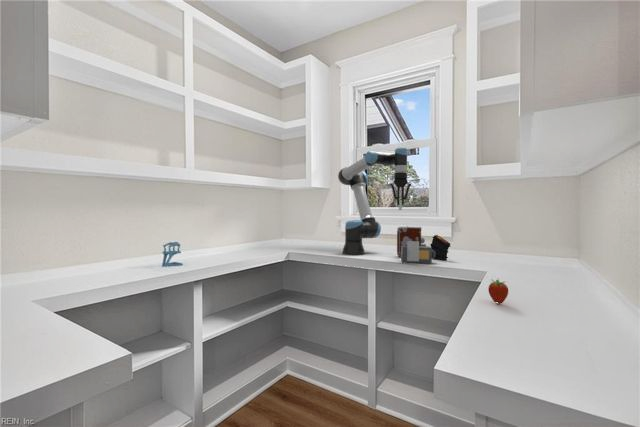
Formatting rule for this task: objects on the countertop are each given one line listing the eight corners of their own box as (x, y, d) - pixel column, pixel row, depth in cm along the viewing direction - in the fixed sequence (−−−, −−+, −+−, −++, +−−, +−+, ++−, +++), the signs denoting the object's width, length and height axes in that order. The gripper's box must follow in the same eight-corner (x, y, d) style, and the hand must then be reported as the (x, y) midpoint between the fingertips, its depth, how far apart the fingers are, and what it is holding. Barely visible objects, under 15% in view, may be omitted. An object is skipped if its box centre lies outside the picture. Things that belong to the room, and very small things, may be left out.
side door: (407, 261, 175) (407, 241, 175) (407, 260, 177) (407, 241, 177) (419, 261, 174) (419, 241, 174) (418, 261, 176) (418, 241, 176)
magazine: (429, 255, 201) (437, 234, 196) (444, 266, 191) (453, 245, 185) (425, 255, 199) (433, 234, 194) (440, 267, 189) (449, 245, 183)
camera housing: (402, 263, 176) (402, 245, 176) (400, 260, 187) (401, 244, 187) (436, 264, 173) (436, 246, 173) (433, 261, 183) (433, 245, 183)
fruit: (487, 304, 96) (488, 278, 96) (488, 300, 100) (488, 275, 100) (508, 307, 93) (508, 280, 93) (508, 303, 97) (508, 277, 97)
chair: (159, 265, 159) (159, 242, 159) (175, 263, 166) (175, 241, 166) (167, 267, 154) (167, 243, 154) (183, 265, 161) (183, 242, 161)
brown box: (429, 258, 198) (430, 226, 198) (399, 257, 199) (399, 226, 199) (425, 256, 208) (425, 226, 208) (396, 255, 208) (396, 226, 208)
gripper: (390, 172, 192) (390, 210, 192) (412, 171, 190) (411, 210, 190) (389, 173, 200) (389, 210, 200) (410, 173, 198) (410, 210, 198)
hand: (400, 210), depth 195 cm, fingers closed
